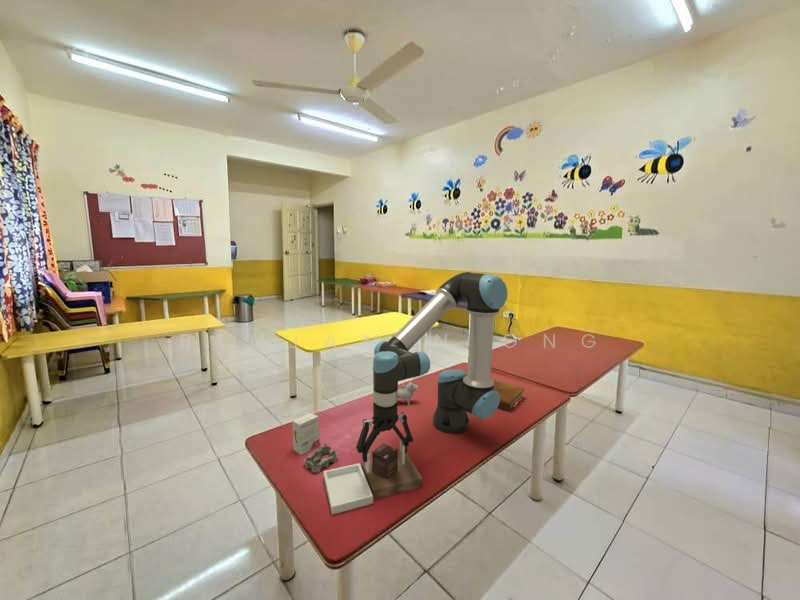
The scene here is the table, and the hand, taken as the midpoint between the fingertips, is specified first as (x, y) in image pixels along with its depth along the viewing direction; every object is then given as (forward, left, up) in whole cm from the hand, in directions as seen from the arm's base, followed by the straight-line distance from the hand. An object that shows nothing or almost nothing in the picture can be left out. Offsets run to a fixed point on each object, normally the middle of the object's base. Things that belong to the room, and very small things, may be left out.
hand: (385, 465), depth 109 cm
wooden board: (-2, 0, -5) cm, 5 cm away
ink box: (+22, -26, -5) cm, 35 cm away
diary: (-69, -37, -6) cm, 79 cm away
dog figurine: (-25, -47, -5) cm, 54 cm away
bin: (+13, +1, -5) cm, 13 cm away
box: (0, 0, -2) cm, 2 cm away
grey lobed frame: (+18, -16, -5) cm, 25 cm away
